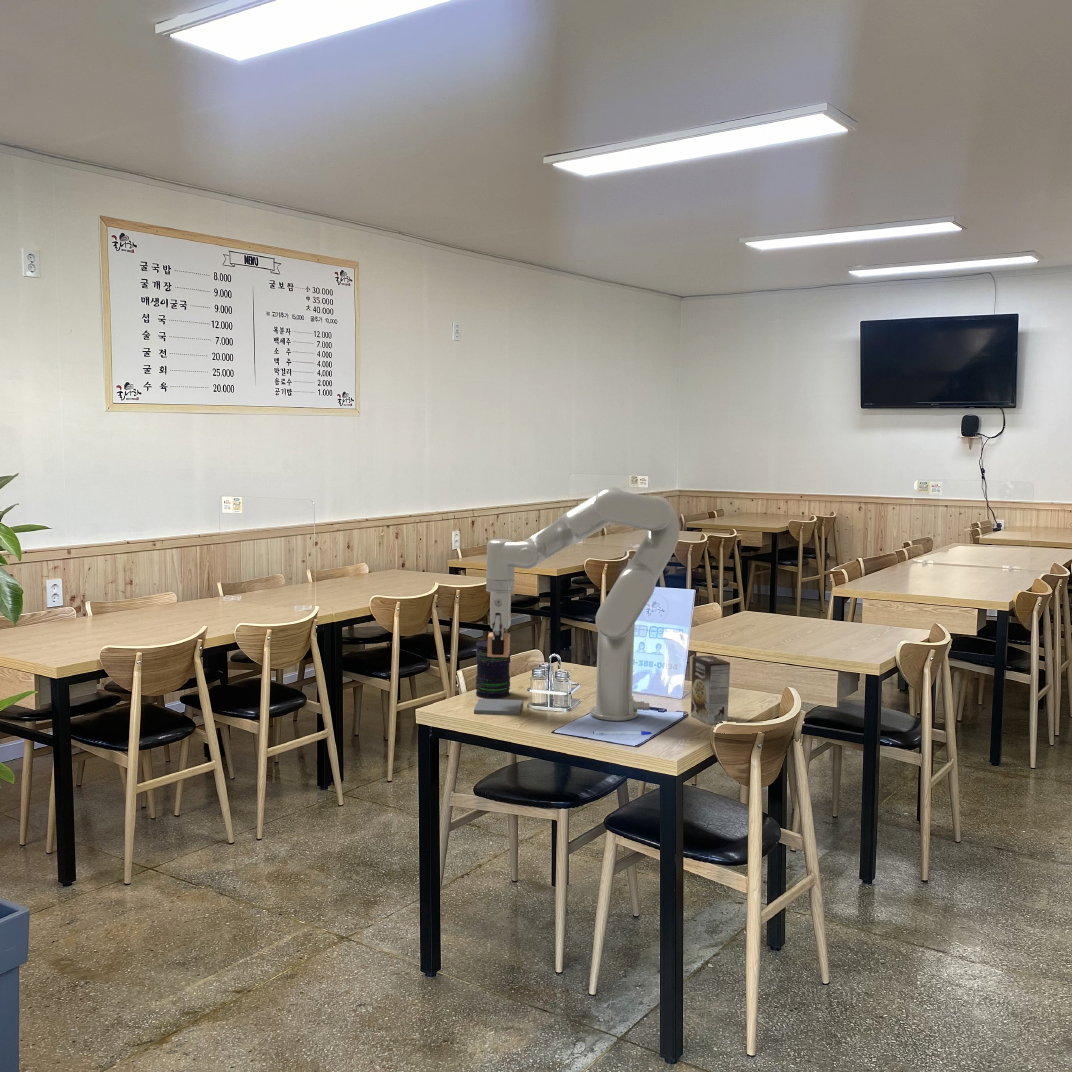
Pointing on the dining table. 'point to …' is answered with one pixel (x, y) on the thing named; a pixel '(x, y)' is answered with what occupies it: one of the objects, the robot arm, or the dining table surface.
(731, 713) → the dining table surface
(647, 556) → the robot arm
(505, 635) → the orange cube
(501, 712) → the coaster mat
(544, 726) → the dining table surface
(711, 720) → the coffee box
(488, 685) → the storage jar
